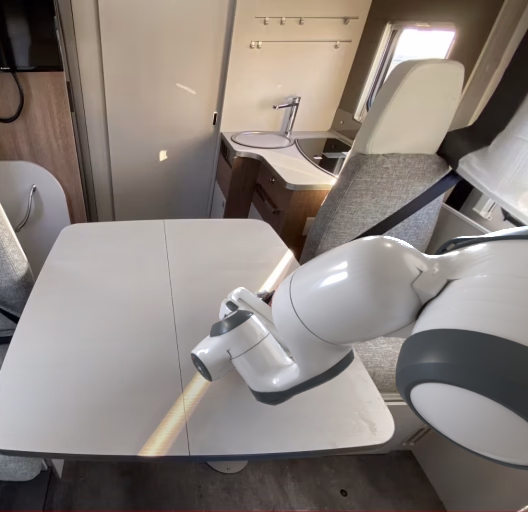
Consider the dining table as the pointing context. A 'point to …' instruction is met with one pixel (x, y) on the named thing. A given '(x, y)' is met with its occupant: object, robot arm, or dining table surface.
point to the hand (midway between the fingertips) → (282, 303)
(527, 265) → the robot arm
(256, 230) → the dining table surface
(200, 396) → the dining table surface
